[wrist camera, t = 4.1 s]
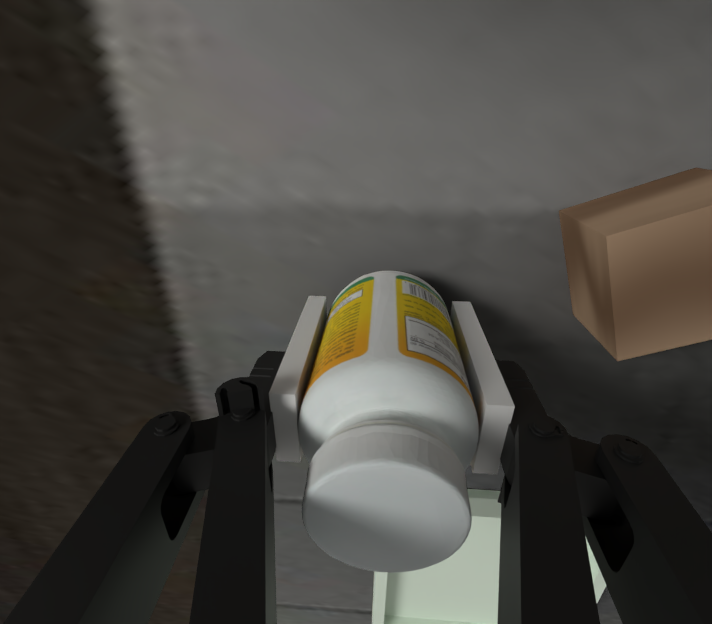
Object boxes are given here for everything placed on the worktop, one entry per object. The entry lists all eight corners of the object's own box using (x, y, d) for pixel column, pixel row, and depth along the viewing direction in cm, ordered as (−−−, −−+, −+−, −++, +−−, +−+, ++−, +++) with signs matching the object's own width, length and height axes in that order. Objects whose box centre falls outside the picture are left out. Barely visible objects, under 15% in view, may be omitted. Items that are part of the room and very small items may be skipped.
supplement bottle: (451, 264, 16) (523, 440, 8) (445, 371, 19) (495, 593, 10) (321, 269, 17) (253, 439, 8) (332, 372, 19) (290, 585, 11)
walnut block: (557, 209, 16) (606, 236, 13) (693, 167, 15) (787, 182, 12) (571, 313, 18) (617, 361, 15) (692, 281, 17) (773, 325, 14)
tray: (378, 483, 24) (378, 509, 22) (618, 498, 23) (635, 527, 21) (372, 611, 30) (371, 639, 28) (560, 626, 29) (570, 656, 28)
